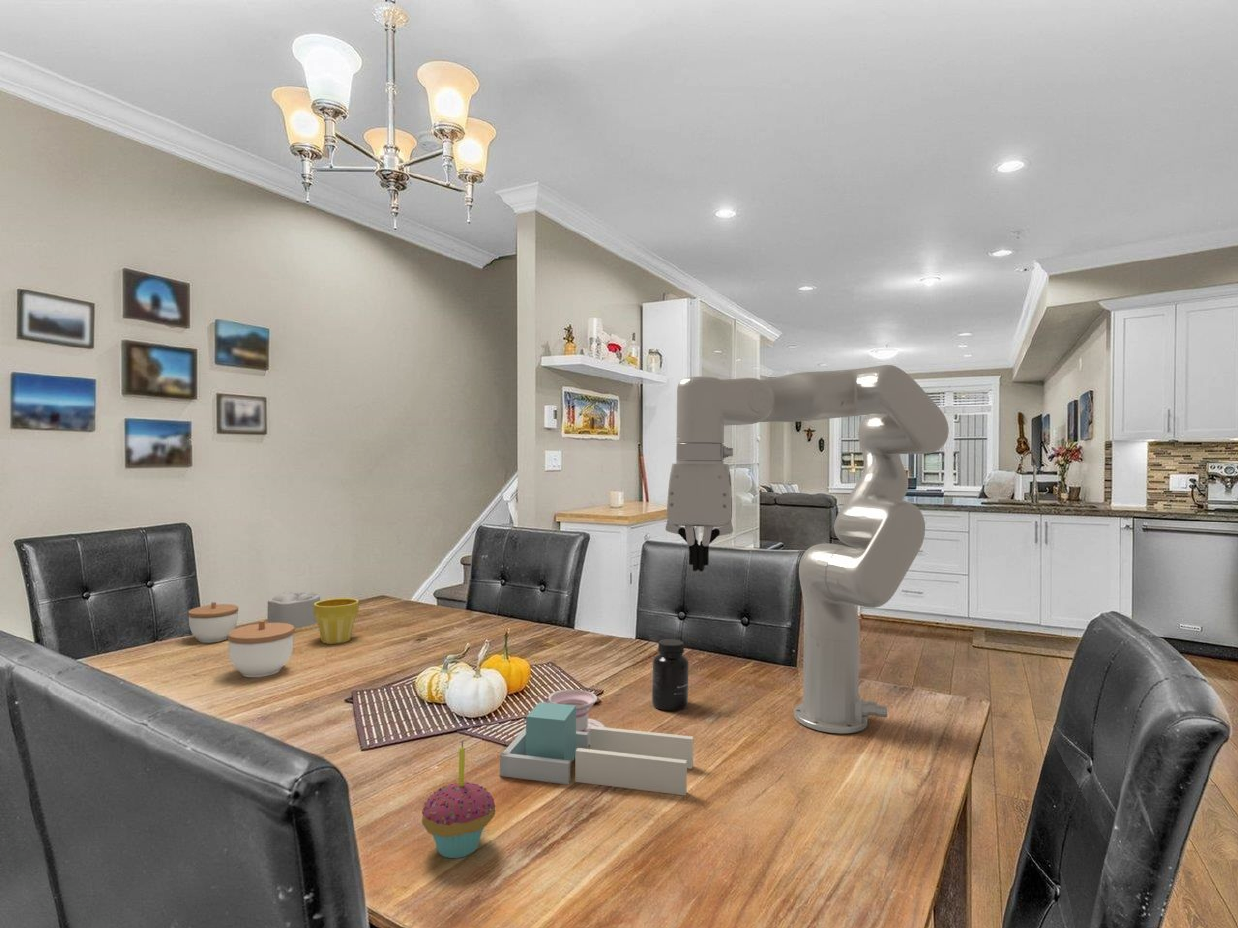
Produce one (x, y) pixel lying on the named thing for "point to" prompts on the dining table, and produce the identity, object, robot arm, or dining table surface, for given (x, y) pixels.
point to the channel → (635, 760)
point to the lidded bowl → (261, 648)
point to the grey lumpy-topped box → (293, 608)
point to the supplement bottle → (670, 676)
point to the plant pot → (336, 619)
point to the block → (551, 731)
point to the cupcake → (458, 815)
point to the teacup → (577, 706)
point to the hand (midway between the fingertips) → (698, 569)
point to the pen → (537, 762)
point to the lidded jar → (213, 622)
